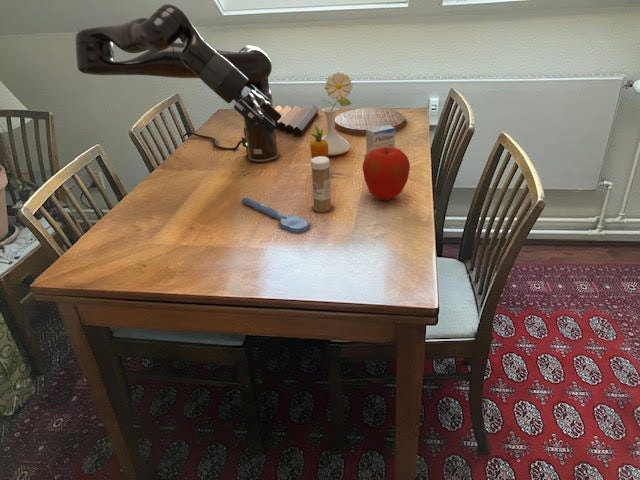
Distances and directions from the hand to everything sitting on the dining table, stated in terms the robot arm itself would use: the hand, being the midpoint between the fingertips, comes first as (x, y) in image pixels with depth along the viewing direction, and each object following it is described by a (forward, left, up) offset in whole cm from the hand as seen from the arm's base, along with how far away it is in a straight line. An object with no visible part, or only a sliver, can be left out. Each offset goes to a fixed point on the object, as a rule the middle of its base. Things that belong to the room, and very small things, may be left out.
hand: (276, 124), depth 127 cm
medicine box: (-2, +41, -21) cm, 47 cm away
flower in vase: (-15, +34, -21) cm, 43 cm away
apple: (+18, +19, -21) cm, 34 cm away
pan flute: (-52, +42, -21) cm, 70 cm away
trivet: (-25, +63, -21) cm, 71 cm away
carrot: (-4, +17, -21) cm, 28 cm away
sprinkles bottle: (+10, +4, -21) cm, 24 cm away
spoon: (+3, -7, -21) cm, 22 cm away
